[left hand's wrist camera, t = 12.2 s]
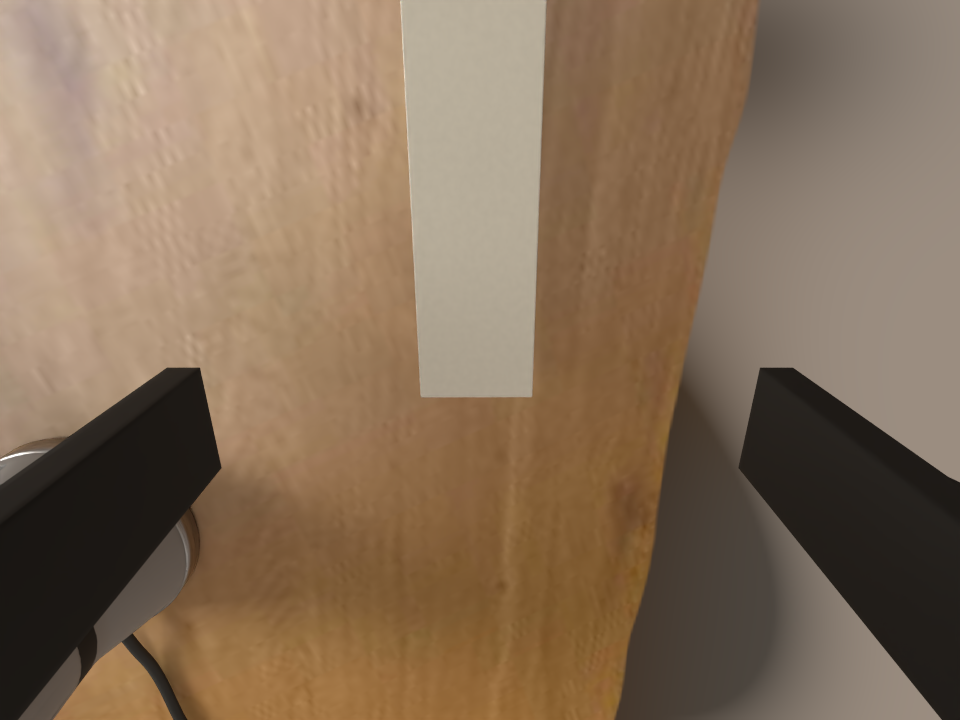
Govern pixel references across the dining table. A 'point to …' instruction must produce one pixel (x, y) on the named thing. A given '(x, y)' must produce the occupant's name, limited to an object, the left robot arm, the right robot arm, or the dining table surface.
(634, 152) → the dining table surface
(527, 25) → the bar
